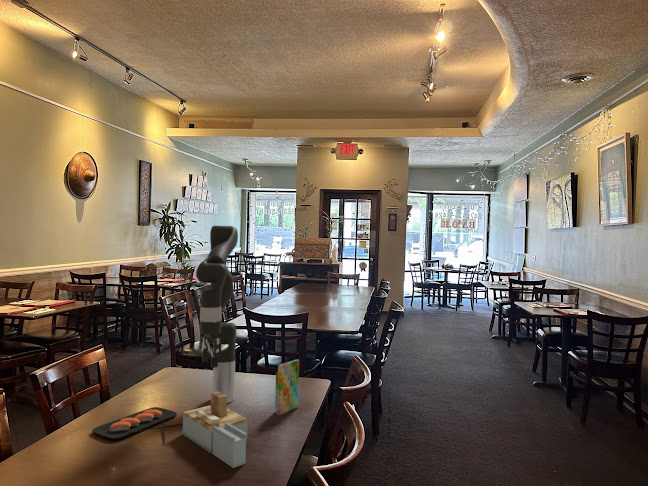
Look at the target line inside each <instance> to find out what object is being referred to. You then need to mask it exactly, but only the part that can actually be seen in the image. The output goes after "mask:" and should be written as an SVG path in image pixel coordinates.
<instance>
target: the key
mask: <svg viewBox="0 0 648 486" xmlns="http://www.w3.org/2000/svg"><path fill="white" fill-rule="evenodd" d="M196 416H197V417H198V418H200V419H202V420H203V421H205V422H207V423H208V424H210V425H212V426H217V425H220V418H218V417H216V416H214V415H213V414H211V413H209V412H207V411H205V410H204V409H199V410H196Z"/></svg>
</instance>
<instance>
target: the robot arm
mask: <svg viewBox="0 0 648 486" xmlns="http://www.w3.org/2000/svg"><path fill="white" fill-rule="evenodd" d="M209 236H210V237H209V238H210V239H209V243H210V251H209V252H208V256H207V257H206V258H205V259H204V260H203V261H201V262H200V263H199V264H198V266H197V268H196V271H195V277H196V280H198V282H200V283H202V284H210V288H208V289H204V290H202V292H201V294H200V295H201V296H200V311H199V349H200V350H201V352H202V353H201V361H202V363H208V362H209V358H211V361H210V363H211V364H210V366H211V368H212V381H211V383H212V385H211V387H212V388H211V393H214V392H218V391H219V392H221V393H223V394H225V395H227V404H228V403H231V402H234V401H235V391H236V390H235V387H236V386H235V385H236V383H235V382H236V379H235V378H236V345H237V343H236V340H237V325H236V324H235V323H234V322H222V318H223V317H222V316H223V315H222V312H223V310H225V308H226V306H227V304H228V303H229V301H231V299H232V296H233V294H234V277H233V274H232V273H231V271H230V269H229V268H228V266H227V265H226V263H227V260H228V257H229V256H230V254H231V253H233V251H234V249H235V248H236V247H237V245H238V239H239V235H238V228H237V227H236V226H233V225H212V226H211V228H210V235H209ZM222 345H224V346H225V345H227V347H226V348H224V349H222ZM209 353H210V354H209ZM210 355H211V357H209V356H210Z"/></svg>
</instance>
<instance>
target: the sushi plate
mask: <svg viewBox="0 0 648 486" xmlns="http://www.w3.org/2000/svg"><path fill="white" fill-rule="evenodd" d="M177 415H178V413H177V411H173V410H169V409H166V408H163V407H158V406H156V407H155V406H154V407H150V408H146V409H144V410H140V411H138V412H135V413H131V414H129V415H127V416H124V417H121V418H118V419H115V420H112V421H111V422H110V421H109V422H107V423H104V424H101V425H98V426H96V427H94V428H93V429H92V430H91V431H92V432H93V433H94V434H95V435H98V436H101V437H104V438H106V439H110V440H111V439H112V440H118V439H121V438H125V437H127V436H130V435H132V434H135V433H139V432H146V431H151V430H159V429H162V443H163V445H162V446H166V436H165V435H166V434H165V428H172V427H178V426H183V422H181V423H176V424H170V425H165V421H167V420H170V419H172V418H174V417H176V416H177ZM159 423H162V426H158V427H152V426H154V425H157V424H159ZM150 427H151V428H150Z"/></svg>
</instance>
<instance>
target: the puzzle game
mask: <svg viewBox="0 0 648 486" xmlns="http://www.w3.org/2000/svg"><path fill="white" fill-rule="evenodd" d="M274 395H275V396H274V397H275V398H274V399H275V402H274V403H275V404H274V409H275V413H276V415H277V416H281V415H284V414H286V413H288V412H290V411H292V410H295V409H297V408H299V406H300V404H299V402H300V401H299V400H300V399H299V397H300V359H294V360H291V361H287V362H284V363H281V364H278V366H277V372H276V373H275V394H274Z"/></svg>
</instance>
